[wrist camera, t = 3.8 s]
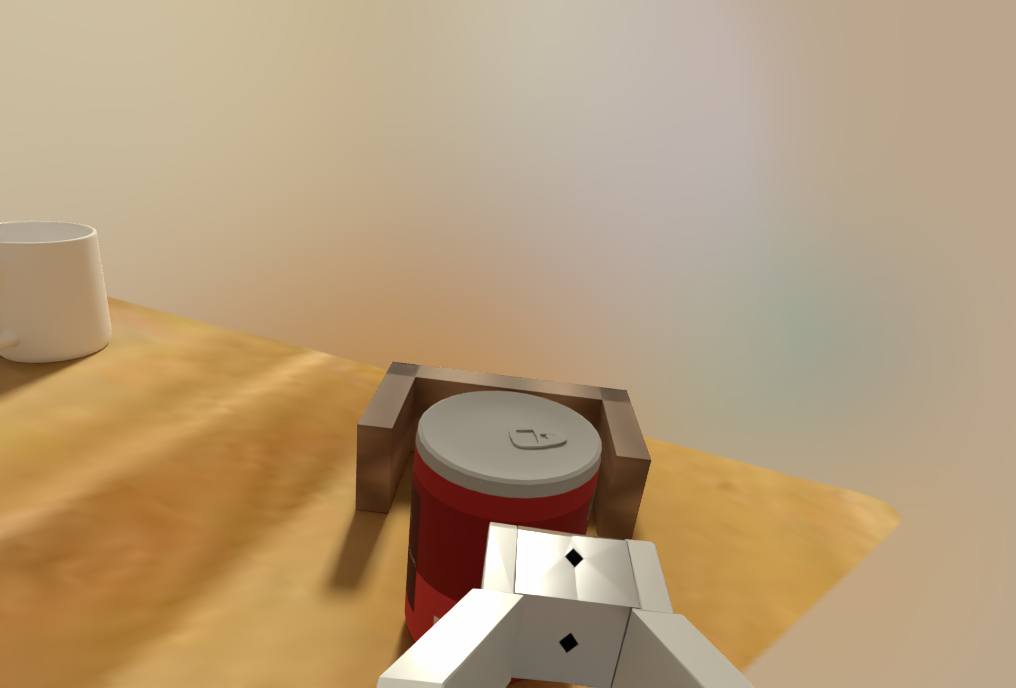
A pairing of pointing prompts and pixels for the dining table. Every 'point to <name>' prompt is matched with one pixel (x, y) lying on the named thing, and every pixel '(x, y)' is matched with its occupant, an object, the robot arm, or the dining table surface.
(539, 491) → the canned food
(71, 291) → the cup
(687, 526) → the dining table surface
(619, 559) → the robot arm
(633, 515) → the corral
